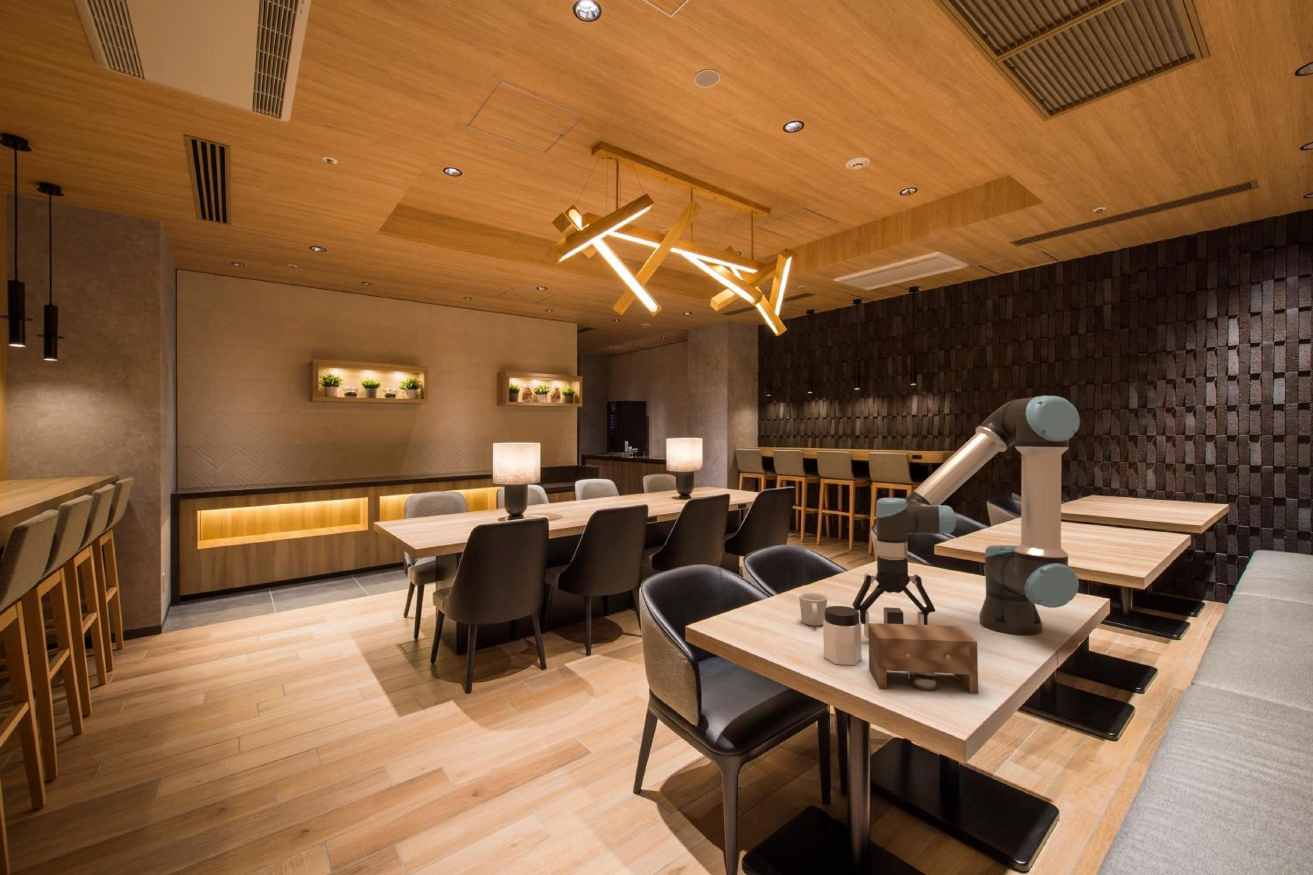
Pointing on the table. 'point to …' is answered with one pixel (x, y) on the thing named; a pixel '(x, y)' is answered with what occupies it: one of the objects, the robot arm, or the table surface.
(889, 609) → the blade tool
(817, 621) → the cup
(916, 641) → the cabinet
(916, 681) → the disc
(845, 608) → the jar
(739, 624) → the table surface
